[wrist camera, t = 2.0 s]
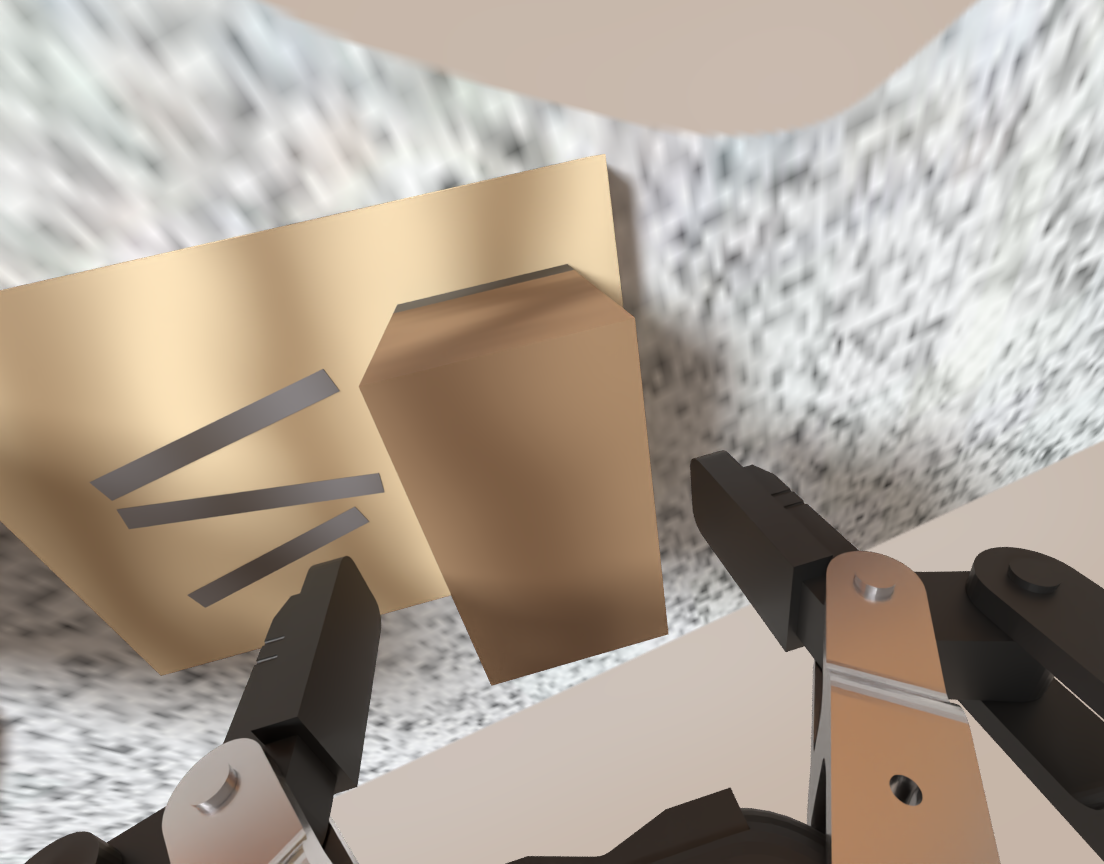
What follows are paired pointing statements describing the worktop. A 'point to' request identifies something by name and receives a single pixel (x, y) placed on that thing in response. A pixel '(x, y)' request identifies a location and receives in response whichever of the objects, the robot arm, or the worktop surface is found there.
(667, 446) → the worktop surface
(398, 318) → the block
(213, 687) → the worktop surface
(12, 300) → the pine board
